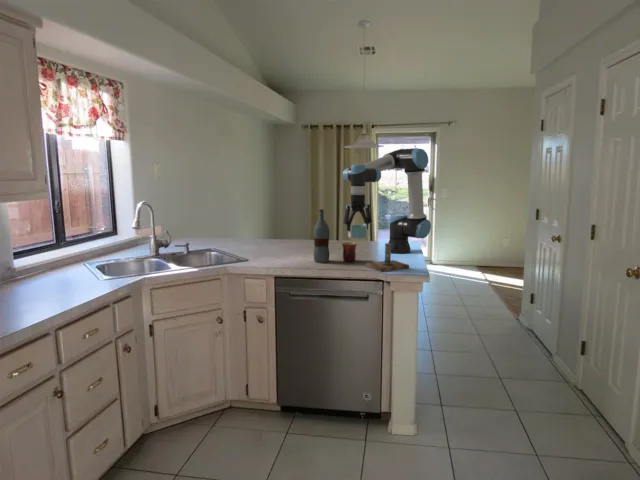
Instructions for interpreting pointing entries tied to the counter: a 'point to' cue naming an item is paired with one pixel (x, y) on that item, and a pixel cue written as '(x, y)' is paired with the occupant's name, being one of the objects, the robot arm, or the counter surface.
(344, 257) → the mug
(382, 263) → the post block
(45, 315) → the counter surface
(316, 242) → the bottle
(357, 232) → the ring
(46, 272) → the counter surface
